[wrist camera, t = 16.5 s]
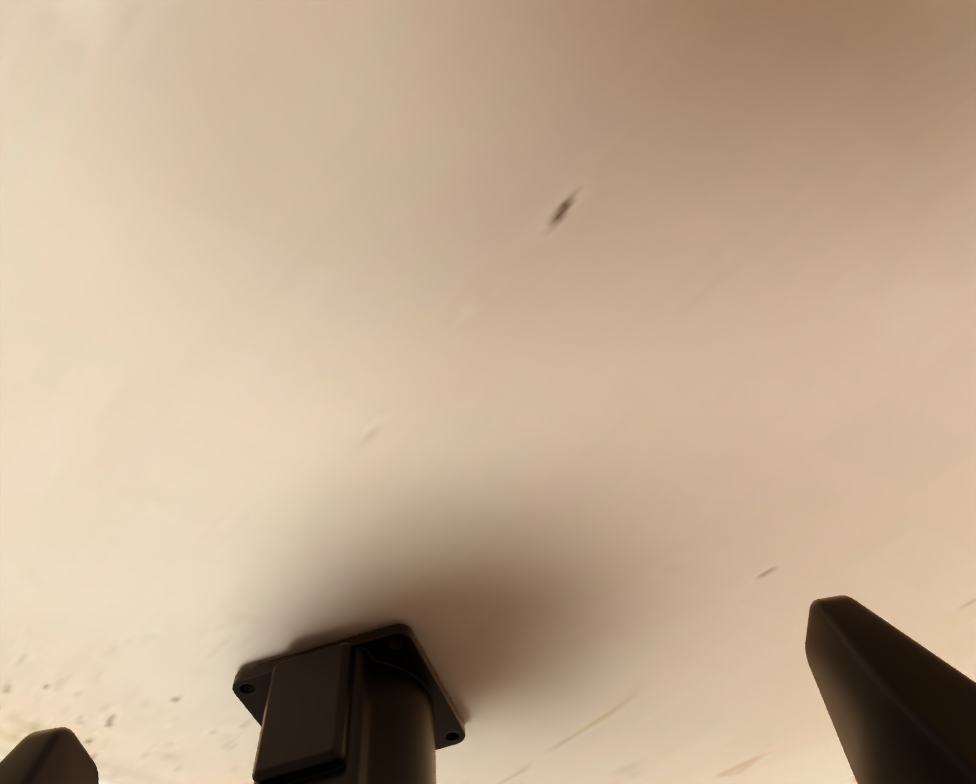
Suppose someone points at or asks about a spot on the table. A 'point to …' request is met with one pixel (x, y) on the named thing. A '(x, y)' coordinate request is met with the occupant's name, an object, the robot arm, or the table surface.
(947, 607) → the table surface
